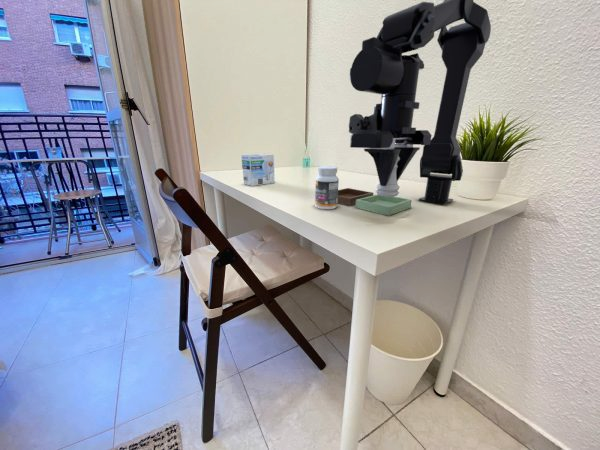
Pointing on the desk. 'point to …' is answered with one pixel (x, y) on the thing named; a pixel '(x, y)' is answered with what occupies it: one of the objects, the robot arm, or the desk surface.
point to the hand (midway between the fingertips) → (388, 184)
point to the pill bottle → (326, 188)
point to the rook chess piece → (390, 184)
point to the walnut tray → (351, 196)
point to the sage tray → (383, 204)
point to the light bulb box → (258, 169)
